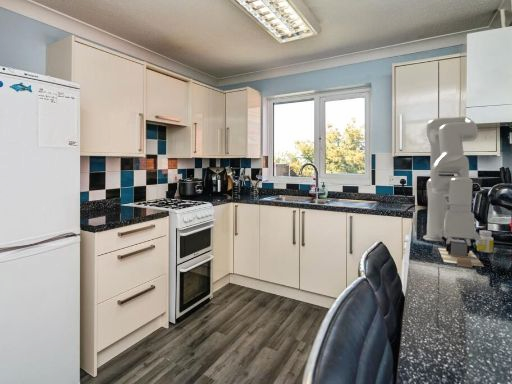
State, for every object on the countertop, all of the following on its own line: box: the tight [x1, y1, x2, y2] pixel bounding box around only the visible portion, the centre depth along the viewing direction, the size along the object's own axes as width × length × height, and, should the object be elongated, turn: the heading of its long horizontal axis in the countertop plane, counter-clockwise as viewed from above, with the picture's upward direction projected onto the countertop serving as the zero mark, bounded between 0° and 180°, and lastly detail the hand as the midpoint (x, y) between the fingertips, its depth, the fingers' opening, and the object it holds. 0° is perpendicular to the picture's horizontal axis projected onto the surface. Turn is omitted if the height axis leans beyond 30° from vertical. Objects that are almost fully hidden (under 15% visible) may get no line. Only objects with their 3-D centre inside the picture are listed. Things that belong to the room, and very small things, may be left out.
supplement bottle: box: [476, 229, 494, 254], centre depth 126 cm, size 5×5×10 cm
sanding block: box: [450, 238, 467, 257], centre depth 121 cm, size 8×5×5 cm, turn 154°
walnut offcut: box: [456, 258, 473, 269], centre depth 107 cm, size 4×4×2 cm
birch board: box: [437, 247, 485, 267], centre depth 118 cm, size 22×12×2 cm, turn 154°
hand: (457, 253), depth 121 cm, fingers closed on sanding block, 5 cm apart
